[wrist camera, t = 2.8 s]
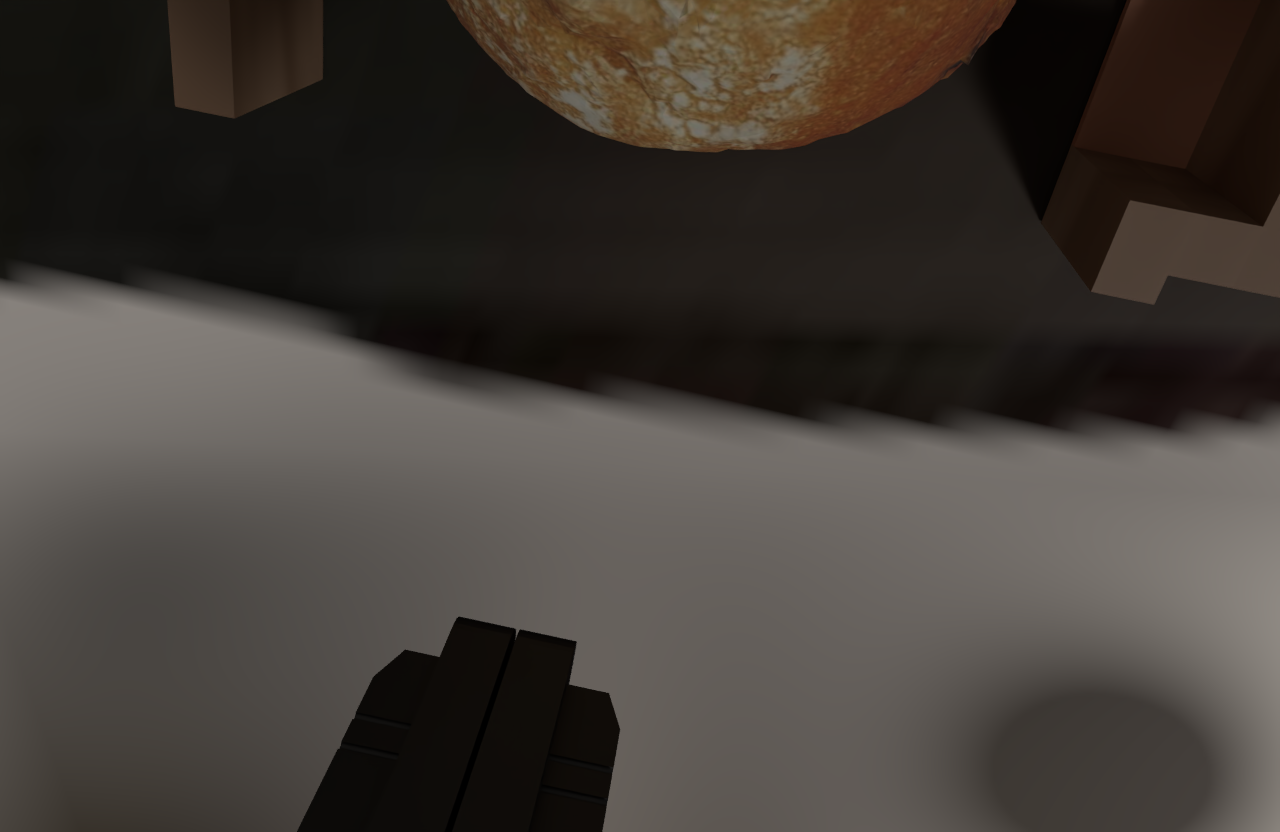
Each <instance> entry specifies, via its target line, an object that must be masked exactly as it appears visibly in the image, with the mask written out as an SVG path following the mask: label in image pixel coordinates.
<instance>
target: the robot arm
mask: <svg viewBox="0 0 1280 832" xmlns="http://www.w3.org/2000/svg"><path fill="white" fill-rule="evenodd" d="M515 638H516V640H515ZM576 643H577V642H576V641H572V640H567V639H563V638H557V637H553V636H549V635H544V634H539V633H535V632H530V631H525V630H519V632H518V635H517V637H516V629H514V628H510V627H505V626H501V625H496V624H491V623H486V622H482V621H477V620H472V619H468V618H463V617H458V618H457V619H456V621H455V623H454V625H453V627H452V629H451V632H450V634H449V636H448V639H447V641H446V643H445V646H444V648H443V651H442V653H441V655H440V657H437V656H432V655H427V654H423V653H418V652H413V651H409V650H404V651H403V652H402V653H401V654H400V655H398V657H396V658H395V659H394V660H393V661H391V662H390V663H389V664H388V665H387V666H385V667H384V668H383V669H382V670H381V671H380V672H378V673H377V674H376V675H375V676H374V677H373V679H372V681H371V683H370V685H369V687H368V689H367V691H366V693H365V695H364V697H363V699H362V701H361V703H360V705H359V707H358V709H357V711H356V715H355V718H354V719H352V721H351V723H350V725H349V727H348V729H347V731H346V733H345V736H344V737H343V739H342V742H341V746H340V749H338V750H337V752H336V754H335V756H334V758H333V760H332V762H331V764H330V766H329V768H328V770H327V772H326V774H325V776H324V778H323V780H322V782H321V784H320V786H319V788H318V790H317V792H316V794H315V796H314V799H313V800H312V802H311V804H310V806H309V808H308V810H307V812H306V814H305V816H304V818H303V821H302V822H301V825H300V827H299V829H298V831H297V832H602V830H603V824H604V818H605V813H606V806H607V801H608V796H609V790H610V784H611V778H612V772H613V767H614V761H615V756H616V750H617V744H618V739H619V732H620V728H619V725H618V721H617V718H616V715H615V711H614V708H613V705H612V702H611V698H610V695H609V693H606V692H601V691H596V690H592V689H587V688H582V687H578V686H573V685H569V682H570V675H571V671H572V666H573V660H574V655H575V649H576Z"/></svg>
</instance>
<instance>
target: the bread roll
mask: <svg viewBox="0 0 1280 832" xmlns="http://www.w3.org/2000/svg"><path fill="white" fill-rule="evenodd" d="M447 2H448V3H449V5H450V7H451V9H452V10H453V11H454V12H455V13H456V15H457V17H458V19H459V21H460V23H461V24H462V25H463V26H464V27H465V28H466V29H467V30H468V31H469V33H470V34H471V35H472V36H473V37H474V39H475V40H476V41H477V42H478V44H479V45H480V46H481V47H482V48H483V49H484V50H485V52H486V53H487V54H488V55H489V56H490V57H491V58H492V59H493V60H494V61H495V62H496V63H497V64H498V65H499V66H500V67H501V68H502V69H503V70H504V71H505V72H506V74H507V75H508V76H510V77H511V78H512V79H514V80H515V81H516V82H517V83H519V84H520V85H521V86H522V87H523V89H524V90H525V91H526V92H527V93H529V94H530V95H532V96H534V97H535V98H537V99H538V100H540V101H541V102H543V103H544V104H546V105H547V106H549V107H550V108H551V109H553V110H554V111H556V112H557V113H558V114H560V115H562V116H563V117H565V118H566V119H568V120H569V121H571V122H573V123H574V124H576V125H577V126H579V127H580V128H583V129H585V130H588V131H590V132H593V133H595V134H597V135H600V136H604V137H607V138H610V139H613V140H617V141H620V142H624V143H627V144H631V145H635V146H640V147H652V148H664V149H672V150H686V151H697V152H719V151H723V150H726V149H735V150H749V149H772V150H781V149H787V148H793V147H799V146H805V145H807V144H809V143H812V142H814V141H816V140H818V139H822V138H826V137H830V136H834V135H838V134H843V133H848V132H849V131H851V130H853V129H855V128H857V127H859V126H861V125H863V124H865V123H867V122H869V121H872V120H874V119H876V118H877V117H879V116H881V115H883V114H885V113H887V112H889V111H891V110H893V109H896V108H900V107H902V106H904V105H905V104H906V103H908V102H909V101H911V100H913V99H914V98H916V97H918V96H919V95H921V94H922V93H923V92H925V91H926V90H928V89H929V88H930V87H932V86H933V85H934V84H935V83H937V82H938V81H939V80H941V79H945V78H948V77H949V76H950V75H951V74H952V73H953V72H954V71H955V70H956V69H957V68H958V67H959V66H961V65H962V64H963V63H965V64H967V65H969V64H970V61H971V59H972V57H973V56H974V54H975V53H976V51H977V49H978V48H979V47H980V46H981V45H982V44H983V43H984V42H985V41H986V40H987V39H988V37H989V36H990V35H991V34H992V33H993V32H994V31H996V30H997V29H999V28H1000V27H1001V25H1002V24H1003V22H1004V20H1005V19H1006V17H1007V16H1008V14H1009V12H1010V11H1011V9H1012V7H1013V6H1014V4H1015V2H1016V0H447Z"/></svg>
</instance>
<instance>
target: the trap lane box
mask: <svg viewBox="0 0 1280 832" xmlns="http://www.w3.org/2000/svg"><path fill="white" fill-rule="evenodd" d="M167 1H168V15H169V29H170V43H171V56H172V70H173V84H174V98H175V106H176V107H181V108H185V109H190V110H195V111H200V112H205V113H210V114H215V115H220V116H225V117H230V118H236V117H239V116H241V115H243V114H245V113H248V112H250V111H252V110H254V109H257V108H259V107H261V106H263V105H266V104H268V103H270V102H272V101H275V100H277V99H279V98H281V97H284V96H286V95H288V94H290V93H293V92H295V91H297V90H299V89H302V88H304V87H306V86H308V85H311V84H313V83H315V82H317V81H320V80H322V79H323V0H167ZM1041 224H1042V225H1043V226H1044V228H1045V229H1046V231H1047V232H1048V233H1049V235H1050V236H1051V237H1052V239H1053V240H1054V242H1055V243H1056V244H1057V246H1058V247H1059V248H1060V250H1061V251H1062V253H1063V254H1064V255H1065V257H1066V258H1067V259H1068V261H1069V262H1070V264H1071V265H1072V266H1073V268H1074V269H1075V270H1076V272H1077V273H1078V275H1079V276H1080V277H1081V279H1082V280H1083V281H1084V283H1085V284H1086V286H1087V287H1088V288H1089V290H1090V291H1091V292H1095V293H1099V294H1104V295H1109V296H1114V297H1119V298H1124V299H1129V300H1134V301H1139V302H1144V303H1149V304H1155V302H1156V299H1157V297H1158V295H1159V293H1160V291H1161V289H1162V287H1163V284H1164V282H1165V280H1166V278H1167V276H1168V275H1169V276H1174V277H1179V278H1184V279H1189V280H1194V281H1199V282H1204V283H1209V284H1214V285H1219V286H1224V287H1229V288H1234V289H1239V290H1244V291H1249V292H1254V293H1259V294H1264V295H1269V296H1274V297H1279V298H1280V0H1127V1H1126V3H1125V6H1124V9H1123V11H1122V14H1121V16H1120V19H1119V22H1118V24H1117V27H1116V29H1115V32H1114V35H1113V37H1112V40H1111V42H1110V45H1109V48H1108V50H1107V53H1106V55H1105V58H1104V61H1103V63H1102V66H1101V68H1100V71H1099V74H1098V76H1097V79H1096V81H1095V84H1094V87H1093V89H1092V92H1091V94H1090V97H1089V100H1088V102H1087V105H1086V107H1085V110H1084V113H1083V115H1082V118H1081V120H1080V123H1079V126H1078V128H1077V131H1076V133H1075V136H1074V139H1073V141H1072V144H1071V146H1070V149H1069V152H1068V154H1067V157H1066V159H1065V162H1064V165H1063V167H1062V170H1061V172H1060V175H1059V178H1058V180H1057V183H1056V185H1055V188H1054V191H1053V193H1052V196H1051V198H1050V201H1049V204H1048V206H1047V209H1046V211H1045V214H1044V217H1043V219H1042V222H1041Z"/></svg>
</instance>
